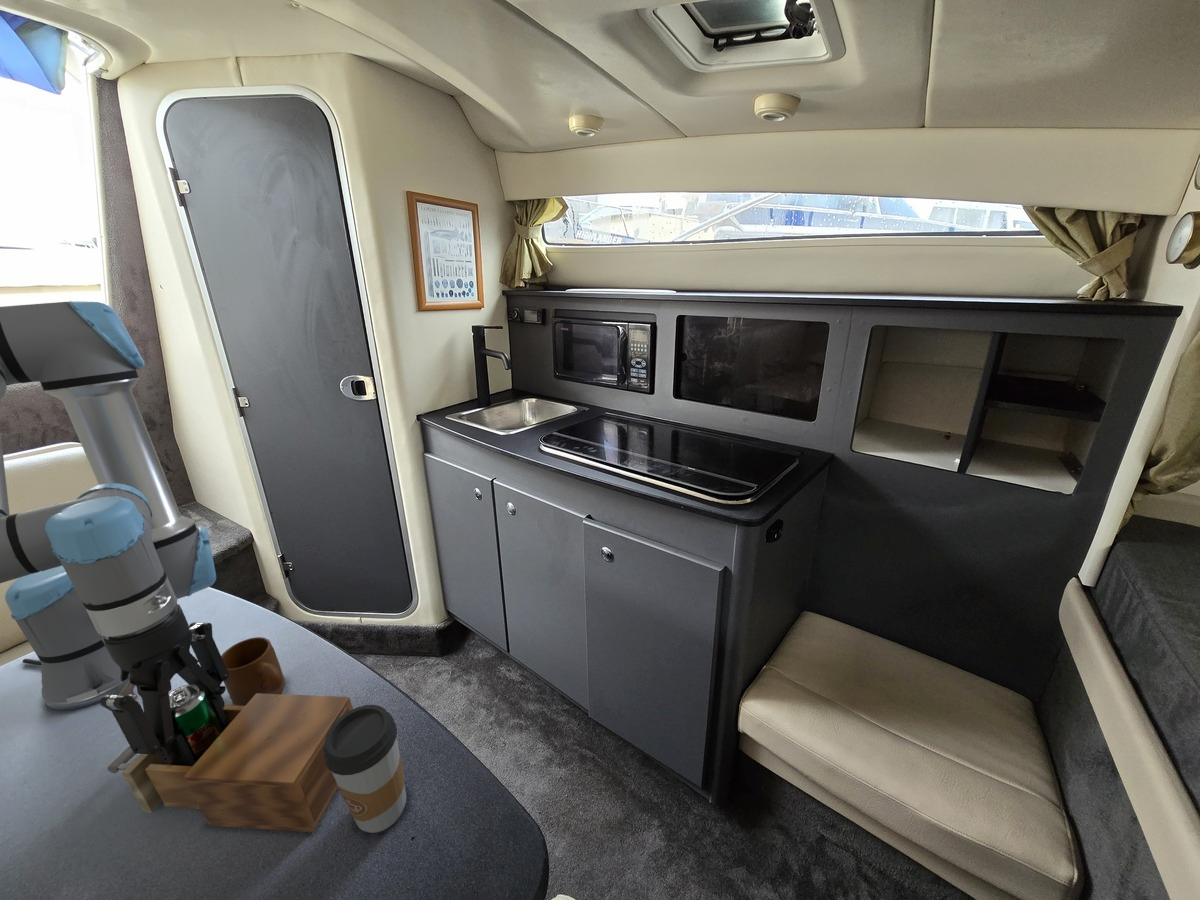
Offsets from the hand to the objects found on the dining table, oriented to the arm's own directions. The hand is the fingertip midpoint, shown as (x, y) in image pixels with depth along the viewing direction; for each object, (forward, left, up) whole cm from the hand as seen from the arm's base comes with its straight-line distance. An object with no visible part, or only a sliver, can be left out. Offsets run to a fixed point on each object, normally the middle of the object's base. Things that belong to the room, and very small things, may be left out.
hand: (204, 749), depth 69 cm
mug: (-2, +13, -6) cm, 14 cm away
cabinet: (+12, 0, -6) cm, 13 cm away
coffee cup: (+27, -3, -6) cm, 27 cm away
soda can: (0, 0, -2) cm, 2 cm away
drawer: (-1, 0, -5) cm, 5 cm away
